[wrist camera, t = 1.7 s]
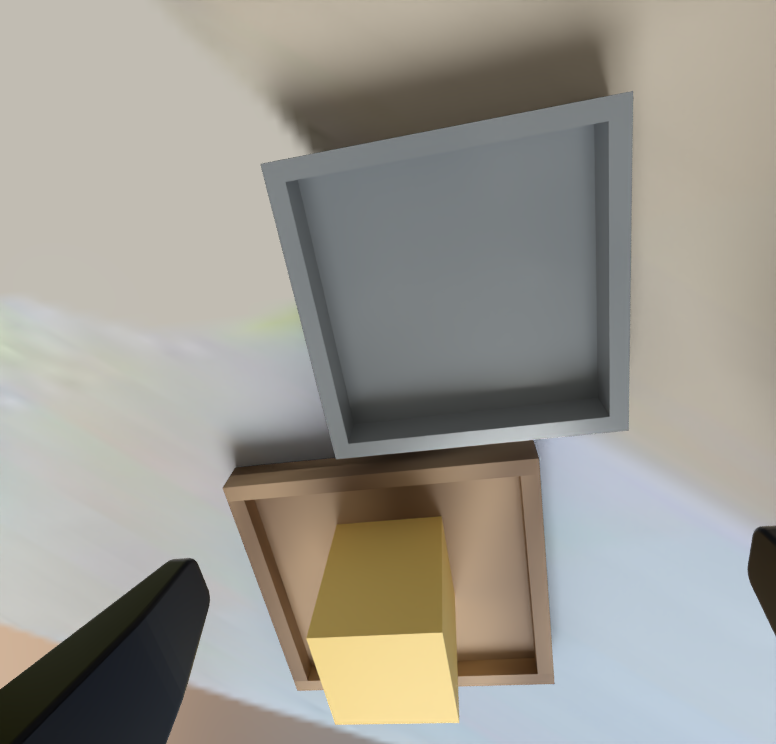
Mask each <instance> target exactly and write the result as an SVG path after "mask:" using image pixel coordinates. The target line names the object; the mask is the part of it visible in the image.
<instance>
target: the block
mask: <svg viewBox="0 0 776 744" xmlns="http://www.w3.org/2000/svg"><path fill="white" fill-rule="evenodd" d="M306 639H307V642H308V645H309V648H310V651H311V654H312V657H313V660H314V663H315V666H316V669H317V672H318V675H319V678H320V680H321V683H322V686H323V689H324V692H325V695H326V698H327V701H328V704H329V707H330V710H331V713H332V716H333V719H334V722H335V725H347V724H411V723H459V700H458V671H457V641H456V612H455V593H454V587H453V581H452V575H451V569H450V563H449V557H448V551H447V545H446V539H445V533H444V527H443V521H442V516H439V517H427V518H414V519H401V520H388V521H376V522H363V523H350V524H337V525H336V529H335V533H334V537H333V540H332V544H331V548H330V551H329V555H328V559H327V563H326V566H325V570H324V574H323V578H322V581H321V585H320V589H319V593H318V596H317V600H316V604H315V608H314V611H313V615H312V619H311V623H310V626H309V630H308V634H307V638H306Z"/></svg>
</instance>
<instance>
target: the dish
mask: <svg viewBox="0 0 776 744" xmlns="http://www.w3.org/2000/svg"><path fill="white" fill-rule="evenodd" d="M632 131H633V91H631V92H626V93H621V94H615V95H610V96H605V97H600V98H595V99H590V100H585V101H580V102H575V103H569V104H564V105H559V106H554V107H549V108H544V109H539V110H534V111H529V112H523V113H518V114H513V115H508V116H503V117H498V118H493V119H488V120H483V121H477V122H472V123H467V124H462V125H457V126H452V127H447V128H442V129H437V130H431V131H426V132H421V133H416V134H411V135H406V136H401V137H396V138H391V139H385V140H380V141H375V142H370V143H365V144H360V145H355V146H350V147H345V148H339V149H334V150H329V151H324V152H319V153H314V154H309V155H304V156H299V157H293V158H288V159H283V160H278V161H273V162H268V163H263V164H261V168H262V172H263V176H264V180H265V184H266V188H267V192H268V196H269V200H270V203H271V208H272V211H273V215H274V219H275V223H276V227H277V231H278V235H279V239H280V243H281V247H282V251H283V254H284V258H285V262H286V266H287V270H288V274H289V278H290V282H291V286H292V290H293V294H294V297H295V301H296V305H297V309H298V313H299V317H300V321H301V325H302V329H303V333H304V337H305V341H306V344H307V348H308V352H309V356H310V360H311V364H312V368H313V372H314V376H315V380H316V384H317V387H318V391H319V395H320V399H321V403H322V407H323V411H324V415H325V419H326V423H327V427H328V430H329V434H330V438H331V442H332V446H333V450H334V454H335V458H336V459H345V458H355V457H365V456H375V455H385V454H395V453H406V452H416V451H426V450H436V449H446V448H456V447H466V446H477V445H487V444H497V443H507V442H517V441H527V440H537V439H548V438H558V437H568V436H578V435H588V434H598V433H608V432H618V431H629V357H630V282H631V206H632Z"/></svg>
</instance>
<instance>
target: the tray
mask: <svg viewBox="0 0 776 744" xmlns="http://www.w3.org/2000/svg"><path fill="white" fill-rule="evenodd" d="M223 490H224V493H225V496H226V498H227V501H228V504H229V506H230V509H231V512H232V514H233V517H234V520H235V523H236V525H237V528H238V531H239V533H240V536H241V539H242V542H243V544H244V547H245V550H246V552H247V555H248V558H249V560H250V563H251V566H252V569H253V571H254V574H255V577H256V579H257V582H258V585H259V588H260V590H261V593H262V596H263V598H264V601H265V604H266V606H267V609H268V612H269V615H270V617H271V620H272V623H273V625H274V628H275V631H276V634H277V636H278V639H279V642H280V644H281V647H282V650H283V652H284V655H285V658H286V661H287V663H288V666H289V669H290V671H291V674H292V677H293V680H294V682H295V685H296V688H297V690H298V691H305V690H324V689H323V686H322V683H321V680H320V678H319V675H318V672H317V669H316V666H315V663H314V660H313V657H312V654H311V651H310V648H309V645H308V642H307V639H306V638H307V634H308V630H309V626H310V623H311V619H312V615H313V611H314V608H315V604H316V600H317V596H318V593H319V589H320V585H321V581H322V578H323V574H324V570H325V566H326V563H327V559H328V555H329V551H330V548H331V544H332V540H333V537H334V533H335V529H336V525H337V524H350V523H363V522H376V521H388V520H401V519H414V518H427V517H439V516H442V521H443V527H444V533H445V539H446V545H447V551H448V557H449V563H450V569H451V575H452V581H453V587H454V593H455V612H456V641H457V671H458V686H493V685H530V684H554V670H553V656H552V641H551V627H550V612H549V598H548V583H547V568H546V554H545V539H544V525H543V510H542V496H541V481H540V467H539V457H538V454H537V451H536V447H535V444H534V441H533V440H527V441H517V442H507V443H497V444H487V445H477V446H466V447H456V448H446V449H436V450H426V451H416V452H406V453H395V454H385V455H375V456H365V457H355V458H345V459H336V458H328V459H318V460H308V461H298V462H288V463H277V464H267V465H257V466H247V467H237V468H235V469H234V471H233V472H232V474H231V475H230V477H229V479H228V480H227V482H226V483H225V485H224V487H223Z"/></svg>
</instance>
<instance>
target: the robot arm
mask: <svg viewBox="0 0 776 744" xmlns="http://www.w3.org/2000/svg"><path fill="white" fill-rule="evenodd" d="M748 576H749V580H750V583H751V586H752V588H753V590H754V592H755V594H756V596H757V598H758V600H759V602H760V604H761V606H762V609H763V611H764V613H765V615H766V617H767V619H768V621H769V623H770V625H771V627H772V629H773V632H774V634H775V636H776V526H762V527H758V528H757V529H756V530H755V531H754V533H753V537H752V543H751V549H750V556H749V562H748ZM209 603H210V595H209V590H208V588H207V585H206V583H205V580H204V578H203V575H202V573H201V570H200V568H199V566H198V563H197V562H196V561H195V560H194V559H191V558H184V559H173V560H170V561H168V562H167V563H165V564H164V565H163V566H161V567H160V568H159V569H157V570H156V571H155V572H153V573H152V574H151V575H149V576H148V577H147V578H146V579H144V580H143V581H142V582H140V583H139V584H138V585H136V586H135V587H134V588H132V589H131V590H130V591H129V592H127V593H126V594H125V595H123V596H122V597H121V598H119V599H118V600H117V601H115V602H114V603H113V604H111V605H110V606H109V607H108V608H106V609H105V610H104V611H102V612H101V613H100V614H98V615H97V616H96V617H94V618H93V619H92V620H91V621H89V622H88V623H87V624H85V625H84V626H83V627H81V628H80V629H79V630H77V631H76V632H75V633H73V634H72V635H71V636H70V637H68V638H67V639H66V640H64V641H63V642H62V643H60V644H59V645H58V646H57V647H55V648H54V649H53V650H51V651H50V652H49V653H48V654H46V655H45V656H44V657H42V658H41V659H40V660H38V661H37V662H35V663H34V664H33V665H32V666H31V667H29V668H28V669H27V670H25V671H24V672H22V673H21V674H20V675H19V676H17V677H16V678H15V679H13V680H12V681H11V682H9V683H8V684H7V685H6V686H4V687H3V688H1V689H0V744H166V742H167V740H168V737H169V735H170V732H171V729H172V726H173V724H174V721H175V719H176V716H177V713H178V711H179V708H180V705H181V702H182V700H183V697H184V693H185V690H186V687H187V684H188V681H189V677H190V673H191V670H192V666H193V662H194V659H195V655H196V652H197V648H198V644H199V641H200V637H201V634H202V630H203V626H204V623H205V619H206V616H207V612H208V608H209Z"/></svg>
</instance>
